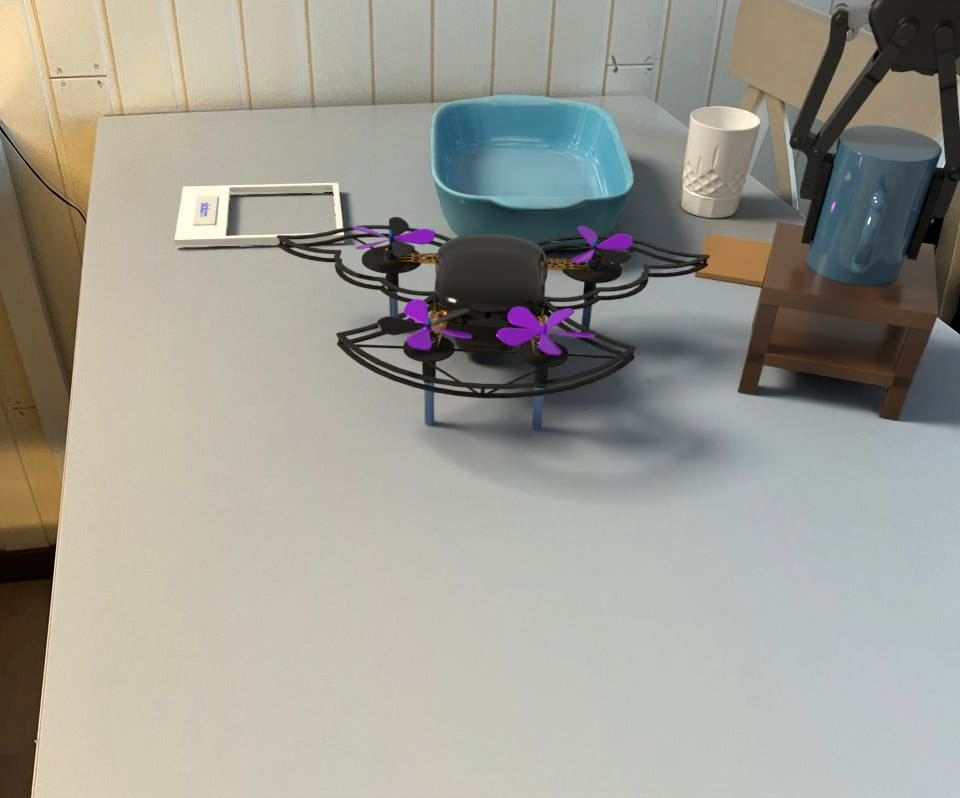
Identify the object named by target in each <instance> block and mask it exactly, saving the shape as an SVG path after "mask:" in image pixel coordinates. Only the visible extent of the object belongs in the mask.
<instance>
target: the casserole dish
mask: <svg viewBox="0 0 960 798" xmlns="http://www.w3.org/2000/svg"><path fill="white" fill-rule="evenodd" d="M430 169H431V175H432V178H433V179H432V180H433V182H434V186H435V190H436V194H437V198H438V202H439V204H440V208H441V211H442V213H443V216H444V218H445V220H446V223H447V224H448V226H449V227H450V229H451V230H452V232H453V233H454V234H455V235H456V237H459V236H464V235H473V234H499V235H508V236H515V237H519V238H523V239H527V240H529V241H532V242H538V241H542V240H546V239H551V238H557V237H564V236H574V235H582V234H581V233H580V232H579V231H578V227H579V226H585V227H587V228H589V229H591V230H593V231H594V232H595V233H596V234H597V235H607V236H610V234H611V233H612V231H613V230H614V228H615V227H616V225H617V223H618V221H619V219H620V218H621V215H622V213H623V212H624V208H625V206H626V203H627V201H628V198H629V196H630V194H631V192H632V190H633V187H634V183H635V176H634V175H635V174H634V171H633V170H634V169H633V167H632V163H631V161H630V158H629V155H628V152H627V150H626V147H625V143H624V140H623V138H622V134H621V132H620V130H619V127H618V125H617V122H616V120H615V118H614V117H613V115H611V113H610V112H609V111H607V110H606V109H604V108H603V107H601V106H598V105H596V104H593V103H589V102H584V101H579V100H568V99H561V98H554V97H550V96H545V95H535V94H534V95H533V94H532V95H531V94H530V95H529V94H498V95H497V94H495V95H488V96H484V97H475V98H465V99H458V100H452V101H450V102H447V103H444V104H443V105H441V106H439V108H437V109H436V111H435V112H434V114H433V116H432V119H431V124H430ZM603 240H604V239H597V241H596V243H601V242H602V241H603ZM563 242H568V243H572V244H577V243H588V242H587V240H586V239H575V240H565V241H563ZM557 245H562V244H556V243H548V244H544V245H540V247H541V248H546V247H552V246H557ZM584 249H585V250H586V249H587V248H586V247H577V248H566V249H559V250H558V251H574V250H584Z"/></svg>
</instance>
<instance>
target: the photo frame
mask: <svg viewBox="0 0 960 798" xmlns="http://www.w3.org/2000/svg"><path fill="white" fill-rule="evenodd" d="M325 190H333V193H332V194H334V196H333V205H334V204H335V206H334V215H335V214H336V216H335V225H336V229H340V228H344V223H343V214H342V206H341V197H340V187H339V182H317V183H316V182H313V183H309V182H308V183H275V184H274V183H271V184H233V185H231V184H230V185H229V184H228V185H226V184H225V185H194V186H193V185H192V186H189V185H187V186H185V185H184V186H183V187H182V193H181V197H180V204H179V210H178V216H177V222H176V227H175V235H174V245H265V246H264V247H266V246H267V245H270V246H278V244H279V239H278V238H277V235H308V234H316V233H317V232H312V233H310V232H307V233H277V234H273V233H272V234H246V235H245V234H244V235H243V234H242V235H228V236H227V228H228V229H229V223H228V214H229V215H230V211H229V199H230V200H231V198H230V191H232V192H238V191H239V192H325ZM228 212H229V213H228ZM342 236H345V232H341V233H338V234H334V235H330V236H324V237H318V238H309V239H289V240H291V241H293V242H294V243H297V244H300V243H313V242H319V241H326V240H330V239H334V238H338V237H342ZM283 244H285V243H283ZM332 244H345V240H343V241H339V242H336V243H332ZM332 244H331V245H332ZM267 247H268V246H267Z"/></svg>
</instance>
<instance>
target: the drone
mask: <svg viewBox="0 0 960 798" xmlns="http://www.w3.org/2000/svg"><path fill="white" fill-rule="evenodd" d="M375 230H388V233H385V232H384V233H381V232H377V231H375ZM349 231H359V232H363V233H353V234H346V235H345V234H344V236H342V237H338V238H334V239H330V240H326V241H319V242H313V243H300V244H297V243H294V242H293V241H291V240H289V239H309V238H318V237H324V236H330V235H334V234H338V233H341V232H344V233H345V232H349ZM578 231H579V232H580V233H581V234H582V235H574V236H564V237H557V238H551V239H546V240H542V241H538V242H532V241H529V240H527V239H523V238H519V237H515V236H508V235H499V234H473V235H464V236H456V237H454V238H452V237H448V236H447V235H443V234H441V233H436V231H435V230H433V229H431V228H430V229H429V228H421V229H420V228H416V227H410V224H409V223H408V222H407V221H406V220H405V219H404V218H402V217H400V216H392V217H390V218H389V219H388V225H387V224H362V225H350V226H345V227H344V226H343V228H340V229H337V228H336V229H333V230H329V231H323V232H315V233H316V234H308V235H277V238H278V239H279V244H278V245H277V247H278V248H279V249H281V250H282V251H284V252H285V253H287V254H290V255H292V256H294V257H297V258H300V259H305V260H309V261H314V262H322V263H333V264H334V269H335V270H334V271H335V273H336V274H337V276H338V277H339V278H341V279H342V280H343V281H345V282H346V283H348V284H350V285H353V286H355V287H358V288H362V289H368V290H375V291H380V292H381V293H382V294H383V295H386V296H387V297H388V302H389V303H388V304H389V306H388V307H389V316H387V315H386V316H383V317H380V318H379V319H378V320H377V322H374V323H371V324H368V325H365V326H360V327H357V328H353V329H348V330H344V331H340V332H336V335H335V336H336V337H337V342H336V345H337V346H338V347H339V348H340V349H341V351H343V352H344V353H345V354H346V355H347V356H348V357H350V359H352V360H353V361H354V362H356V363H358V364H359V365H360V366H362V367H364V368H365V369H368V370H369V371H371V372H372V373H375V374H377V375H379V376H382V377H384V378H386V379H389V380H391V381H393V382H396V383H398V384H401V385H405V386H409V387H411V388H414V389H419V390H423V393H424V394H423V395H424V396H423V399H424V402H423V403H424V425H426V426H430V427H431V426H434V425H435V393H436V394H442V395H449V396H454V397H462V398H472V399H473V398H474V399H501V400H502V399H503V400H504V399H519V398H521V399H522V398H531V397H532V398H533V406H532V418H531V419H532V420H531V429H532V430H533V431H534V432H535V431H536V432H539V431H541V430H542V426H543V417H544V416H543V415H544V406H545V405H544V404H545V403H544V402H545V396H547V395H548V396H549V395H553V394H559V393H562V392H567V391H571V390H575V389H579V388H582V387H585V386H587V385H591V384H594V383H597V382H598V381H601V380H603V379H605V378H608V377H610V376H612V375H613V374H615V373H617V372H618V371H620V370H622V369H624V368H625V367H627V365H629V364H630V363H631V362H633V361H634V360H635V359H636V356H635V352H636V351H637V347H636V346H634V345H631V344H628V343H625V342H622V341H618V340H616V339H613V338H611V337H608V336H606V335H603V334H601V333H598V332H596V331H595V330H592V329H590V328H591V317H592V309H593V305H595V304H597V303H598V302H599V301H600V302H601V301H615V300H623V299H626V298H631V297H632V296H636V295H637V294H639V293H641V292H642V291H643V290H644V289H646V288H647V285H648V283H649V278H673V277H674V278H675V277H681V276H682V277H683V276H686V275H690V274H695V272H697V271H699V270H702V269H704V268H705V267H707V266H708V263H707V259H708V258H709V257H710V255H704V254H701V253H691V252H685V251H678V250H673V249H669V248H665V247H662V246H658V245H656V244H653V243H650V242H648V241H645V240H643V239H637V238H633V237H632V236H631V235H629V234H627V233H616V234H615V235H608V236H607V235H597V234H596V233H595V232H594V231H593V230H591V229H589V228H587V227H585V226H579V227H578ZM406 232H407V233H406ZM363 238H385V239H384V240H379V241H375V242H374V241H373V242H369V243H367V242H365V241H364V240H361V239H363ZM351 239H352V240H354V241H356V242H358V243H360V244H361V245H357V246H355V247H354V248H355V250H365V249H367V250H366V251H364V252H363V254H362V255H361V263H362V265H363V266H364V267H365V268H366V269H368V270H370V271H372V272H375V273H378V274H379V273H380V274H385V276H383V277H382V276H373V275H367V274H363V273H360V272H357V271H354V270H352V269H350V268H348V266H346V265H344V263H343V258H341V255H342V253H343V251H342V250H341V249H327V248H326V249H325V248H318V247H320V246H325V245H332V243H334V244H337V243H336V242H339V241H343V240H344V241H346V240H351ZM434 239H439V240H442V241H445V242H439V241H436V240H434ZM575 239H586V240H587V242H588V243H577V244H572V243H568V242H563V241H565V240H575ZM597 239H603V240H604V241H603V240H602V241H601V242H598V243H596V241H597ZM386 242H388V243H389V244H386V245H380V244H384V243H386ZM283 243H285V244H283ZM548 243H556V244H562V245H557V246H552V247H546V248H541V247H540V245H544V244H548ZM413 244H416V245H422V246H423V245H427V244H428V245H431V246H434V247H438V250H437V252H419V251H418V250H416V247H415V246H414V245H413ZM633 244H636V245H641V246H643V247H646V248H649V249H652V250H654V251H657V252H660V253H663V254H669V255H672V256H678V257H684V258H691V259H692V260H687V261H686V260H681V259H674V258H672V257H667V256H664V255H659V254H656V253H654V252H651V251H648V250H646V249H643V248H639V247H635V246H633ZM378 245H380V246H378ZM577 247H586V248H585V249H589V250H588V251H584V252H583V253H581V254H575V255H572V256H569V257H567V258H566V259H560V258H551V257H548V256H547V253H548V252H554V251H560V250H559V249H566V248H577ZM295 249H298V250H301V251H305V252H310V253H315V254H325V255H334V256H333V257H322V256H316V255H310V254H306V253H303V252H300V251H296V250H295ZM635 252H636V253H639V254H642V255H644V256H647V257H650V258H652V259H655V260H659V261H662V262H666V263H669V264H655V263H654V264H653V263H643V264H642V269H643V271H642V272H641V274H640V276H639V278H637V279H636V280H634V281H631V282H628V283H626V284H622V285H617V286H606V287H605V286H597V284H606V283H610V282H613V281H616V280H617V279H619V278H621V276H622V274H623V267H622V264H625V263H627V262H629V261H631V260H632V258H633V256H632V253H635ZM700 262H703V263H700ZM421 265H435V267H434V268H435V279H434V288H433V289H434V290H432V291H431V290H428V291H426V290H415V289H409V288H404V287H400V277H399V274H405V273H409V272H412V271H414V270H416V269H418V268H420V266H421ZM687 267H691V268H688V269H684V270H678V271H671V272H650V269H651V270H670V269H681V268H687ZM548 270H550V271H551V270H552V271H562V272H563V274H564V275H565V276H567V277H568V278H570V279H572V280H574V281H577V282H581V283H583V291H582V294H580V295H575V296H567V297H566V296H565V297H563V296H562V297H558V296H555V297H553V296H546V281H547V278H548V272H549V271H548ZM350 276H351V277H350ZM352 277H353V278H357V279H360V280H365V281H370V282H379V283H380V284H381V285H378V284H376V285H375V284H370V283H365V282H362V281H359V280H356V279H353V278H352ZM629 289H632V290H629ZM625 290H629V291H627V292H623V293H619V294H611V295H599V294H600V293H609V292H610V293H611V292H620V291H625ZM398 293H401V294H406V295H411V296H418V297H426V298H424V299H420V298H409V297H406V296H401V295H399V294H398ZM579 301H583V302H582V303H578V304H572V305H554V304H553V303H571V302H579ZM399 302H403V303H406V305H405V306H404V308H403V311H402V312H400V313H399ZM576 310H582V316H581V323H580V322H579V323H578V322H577V321H575V320H573V319H572V318H570V317H571V316H573V315H574V313H575V311H576ZM429 313H430V314H429ZM407 317H408V318H407ZM405 318H407V319H405ZM546 318H547V319H548V320H547V319H546ZM568 325H569V326H568ZM556 326H557V327H559V328H560V329H561V330H562V331H551V329H553V328H554V327H556ZM570 326H572V327H573V328H574V329H573V328H572V327H570ZM375 329H380V330H378V331H375V332H371V333H369V334H365V335H361V336H357V337H353V338H350V339H349V338H348V337H349V336H354V335H357V334H362V333H366V332H369V331H373V330H375ZM575 329H577V330H578V331H577V330H575ZM411 332H414V333H412V334H410V335H408V336H407V338H406V340H405V342H403V345H393V344H391V345H390V344H363V342H366V341H370V340H374V339H376V338H379V337H382V336H385V335H390V336H399V335H403V334H408V333H411ZM444 334H447V335H449V336H452V340H453V341H452V340H451V339H450V338H447V337H445V336H444ZM549 334H555V335H561V336H569V337H574V338H576V339H577V340H580V341H582V342H584V343H585V344H587V345H590V346H592V347H594V348H596V349H598V350H600V351H603V352H606V353H609V354H611V355H599V354H584V353H583V354H582V353H570V352H569V350H568V349H567V347H566V346H565V345H563V344H562V343H559V342H557V341H554V340H553V339H552V338H551V337H550V335H549ZM591 338H595V339H597V340H599V341H601V342H604V343H607V344H610V345H612V346H615V347H617V348H621V349H624V350H623V351H621V350H618V349H616V348H613V347H610V346H608V345H606V344H602V343H600V342H598V341H596V340H593V339H591ZM360 343H361V344H360ZM515 347H517V348H516V350H514V348H515ZM363 348H366V349H367V348H368V349H370V348H373V349H394V350H395V349H397V350H398V349H399V350H402V351H403V354H404V355H405V356H406V357H408V358H409V359H411V360H413V361H416V362H421V365H422V366H421V371H422V372H421V373H417V372H414V371H411V370H408V369H405V368H402V367H399V366H396V365H394V364H391V363H389V362H386V361H384V360H381V359H380V358H377V357H376V356H374V355H372V354H370V353H368V352H366V351H365V350H364V349H363ZM455 352H462V353H464V354H466V355H481V356H482V355H483V356H503V355H505V354H506V355H516V356H517V358H518V359H519V360H520V361H521V362H522V363H523V364H525V365H528V366H531V367H534V369H533V370H531V371H529V372H527V373H525V374H522V375H521V376H519V377H517V378H515V379H513V380H510V381H508V382H506V383H480V382H469V381H461V380H460V379H458V378H457V377H455V376H453V375H451V374H450V373H448V372H446V371H445V370H444V369H441V368H440V367H438V366H437V362H442V361H445V360H447V359H449V358H451V357H452V356H453V355H454V353H455ZM569 357H570V358H587V359H601V360H602V359H603V360H605V359H606V360H608V361H605V362H604V363H601V364H599V365H596V366H593V367H591V368H589V369H587V370H583V371H579V372H576V373H573V374H570V375H565V376H560V377H555V378H551V379H548V376H549V368H555V367H559V366H561V365H563V364H564V363H566V362H568V360H569ZM370 362H371V363H370ZM382 368H384V369H386V370H388V371H386V370H384V369H382ZM389 371H390V372H389ZM437 371H438V372H440V373H442V374H443V375H445V376H446V377H448V378H449V379H447V378H439V377H437ZM602 371H603V372H602ZM391 372H392V373H391ZM393 373H396V374H393ZM597 373H598V374H597ZM397 374H399V375H402V376H405V377H409V378H411V379H414V380H415V379H416V380H419V381H422V382H423V383H421V382H417V381H414V380H411V379H407V378H404V377H401V376H399V375H397ZM595 374H596V375H595ZM531 375H533V381H529V382H518V381H521V380H522V379H523V380H524V378H527V377H529V376H531ZM592 375H594V376H592ZM589 376H591V377H589ZM586 377H588V378H586ZM582 378H586V379H582ZM580 379H582V380H580ZM576 380H578V381H576ZM579 380H580V381H579ZM572 381H576V382H573V383H569V384H565V385H560V384H563V383H568V382H572ZM436 384H437V385H443V386H448V387H455V388H463V389H465V388H466V389H468V391H465V390H457V389H450V388H445V387H440V386H435V385H436ZM558 384H559V386H556V387H555V386H554V385H558ZM547 386H554V387H551V388H547ZM533 388H534V390H530V391H529V390H528V391H517V392H497V391H499V390H516V389H517V390H518V389H533ZM476 389H477V390H480V392H479V391H477V390H476ZM486 390H489V391H487V392H486Z"/></svg>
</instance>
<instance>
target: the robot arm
mask: <svg viewBox="0 0 960 798" xmlns="http://www.w3.org/2000/svg"><path fill="white" fill-rule="evenodd" d="M867 24H869V27H870V30H871V33H872V36H873V39H874V41H875V45H876V49H875V50H874V52H873V53H872V54H871V56H870V58H869V59H868V61H867V62H866V64H865V66H864V67H863V69H861V72H860V73H859V74H858V76H857V77H856V79H855V80H854V81H853V83H852V84H851V86H850V87H849V88H848V90H847V91H846V93H845V94H844V95H843V96H842V97H841V100H840V101H839V103H837V105H836V107H835V108H834V109H833V111H832V112H831V114H830V115H828V116H829V117H828V118H827V119H826V121H825V122H824V123H823V125H822V126H821V127H820V129H819V130H818V132H817V133H814V132H813V131H811V130H812V127H813V124H814V122H815V120H816V117H817V116H818V113H819V110H820V108H821V106H822V104H823V101H824V99H825V97H826V95H827V92H828V89H829V87H830V85H831V83H832V80H833V78H834V76H835V74H836V72H837V68H838V67H839V64H840V63H841V62H840V61H841V59H842V58H843V57H842V56H843V54H844V51H845V47H846V43H847V42H851V41H853V40H855V39H856V38H857V36H858V34H859V31H860V29H861V28H862V27H863V26H864V25H867ZM958 59H960V0H872V2H871V4H867V5H856V6H848V4H847V3H845V2H841V3H837V4H836V5H835V6H834V8H833V9H832V14H831V19H830V27H829V39H828V42H827V45H826V47H825V49H824V52H823V54H822V57H821V58H820V61H819V63H818V66H817V68H816V71H815V74H814V76H813V77H812V81H811V83H810V85H809V88H808V91H807V93H806V95H805V98H804V100H803V103H802V105H801V107H800V109H799V112H798V115H797V117H796V120H795V121H794V124H793V126H792V129H791V133H790V137H789V143H788V144H789V147H790V149H792V150H796V151H797V150H798V151H800V152H801V153H803V154H804V155H805V157H806V158H807V160H806V164H805V168H804V172H803V176H802V180H801V183H800V188H799V197H800V199H803V200H808V201H810V204H809V207H808V210H807V214H806V218H805V222H804V224H803V226H804V229H803V235H802V241H801V243H804V244H810V243H811V239H812V235H813V232H814V228H815V224H816V221H817V217H818V213H819V210H820V206H821V202H822V199H823V195H824V191H825V188H826V184H827V180H828V177H829V173H830V169H831V166H832V158H833V155H834V152H829V151H830V150H831V148H832V147H833V145H834V144H836V142H837V140H838V137H839V136H840V134H841V133H842V132H843V130H846V129H847V126H849V125H850V122H851V121H852V119H854V117H855V116H856V114H857V113H858V112H859V110H860V109H861V108H862V106H863V105H864V103H866V100H867V99H868V98H869V96H870V95H871V94H872V92H873V91H874V90H875V88H876V87H877V86H878V84H880V83H881V82H882V80H883V79H884V78H885V77H886V76H887V74H888V73H889V71H891V72H894V73H907V72H916V73H918V74H920V75H922V76H928V77H934V76H935V75H937V81H938V92H939V102H940V114H941V115H940V116H941V128H942V139H943V151H944V167H938V166H937V168H936V171H935V173H934V176H933V179H932V182H931V185H930V188H929V191H928V194H927V197H926V200H925V202H924V205H923V208H922V211H921V214H920V217H919V220H918V223H917V226H916V228H915V231H914V234H913V237H912V240H911V243H910V246H909V249H908V252H907V259H911V260H916V259H917V256H918V253H919V251H920V248H921V245H922V243H924V239H925V236H926V233H927V231H928V228H929V225H930V222H931V219H932V218H938V219H943V218H944V217H945V216H946V215H947V214H948V212H949V209H950V205H951V203H952V200H953V197H954V195H955V192H956V190H957V187H958V184H959V182H960V108H959V107H960V106H959V105H960V104H959V91H958V77H957V64H956V62H957V60H958Z"/></svg>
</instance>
